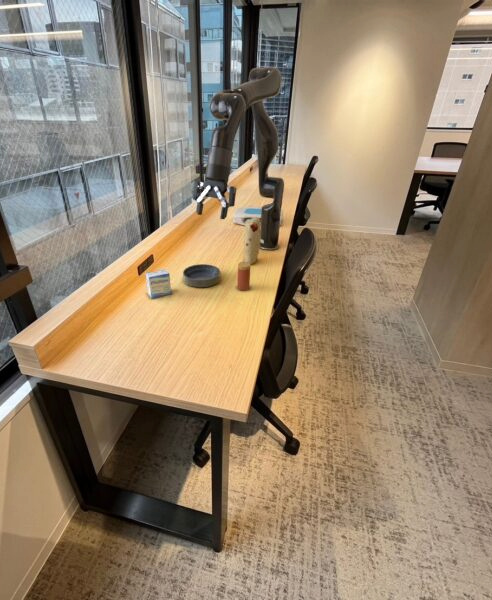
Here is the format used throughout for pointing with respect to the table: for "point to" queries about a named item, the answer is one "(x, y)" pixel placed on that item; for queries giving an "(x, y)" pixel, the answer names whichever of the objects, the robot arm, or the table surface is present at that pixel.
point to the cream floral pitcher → (251, 240)
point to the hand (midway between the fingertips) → (210, 216)
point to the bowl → (201, 275)
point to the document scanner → (249, 214)
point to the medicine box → (158, 283)
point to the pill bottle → (243, 276)
